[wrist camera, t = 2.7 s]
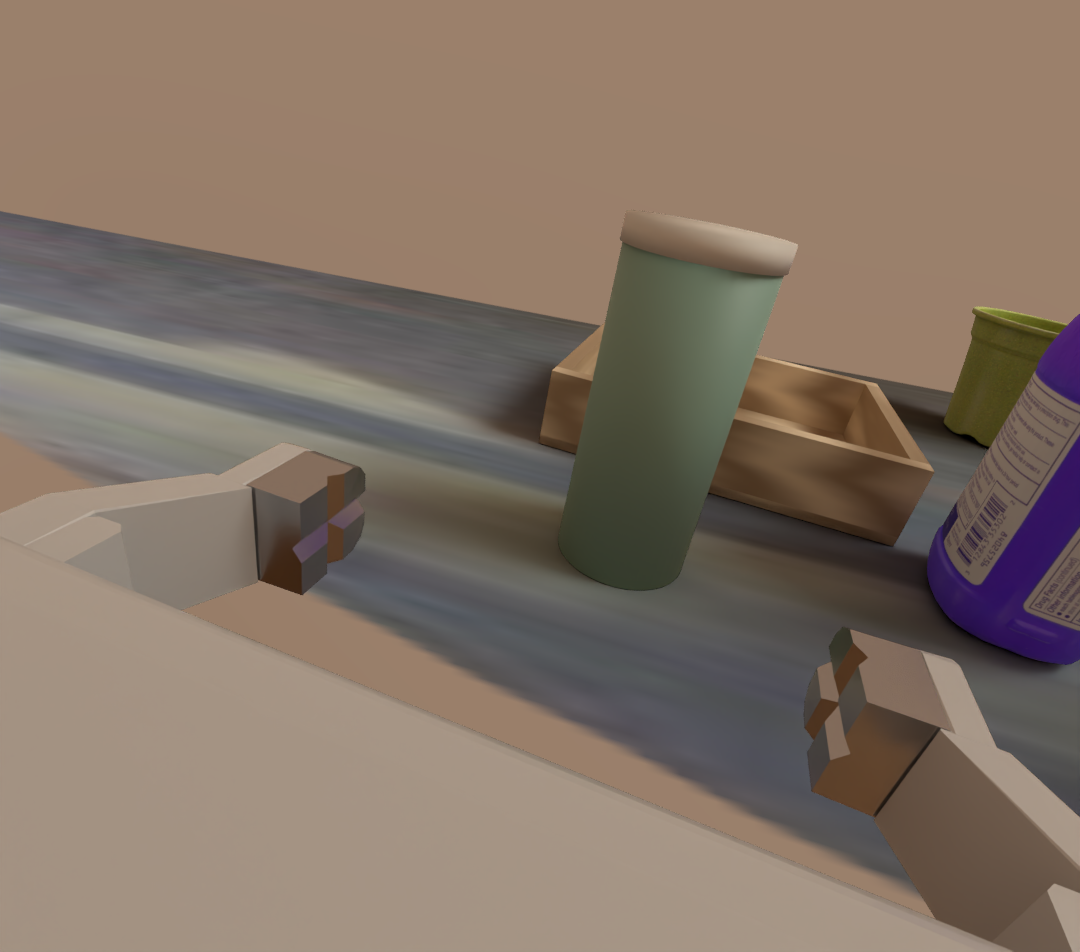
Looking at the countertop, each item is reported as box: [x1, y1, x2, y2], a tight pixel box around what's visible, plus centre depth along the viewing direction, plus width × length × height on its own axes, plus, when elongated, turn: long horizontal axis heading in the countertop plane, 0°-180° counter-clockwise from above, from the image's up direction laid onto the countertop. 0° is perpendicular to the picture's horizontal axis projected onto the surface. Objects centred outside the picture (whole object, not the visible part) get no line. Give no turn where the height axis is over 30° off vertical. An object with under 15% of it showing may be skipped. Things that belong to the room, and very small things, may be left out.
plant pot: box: [944, 307, 1068, 447], centre depth 43 cm, size 9×9×9 cm
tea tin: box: [558, 210, 798, 590], centre depth 21 cm, size 5×5×12 cm
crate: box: [539, 323, 934, 546], centre depth 34 cm, size 18×14×4 cm
